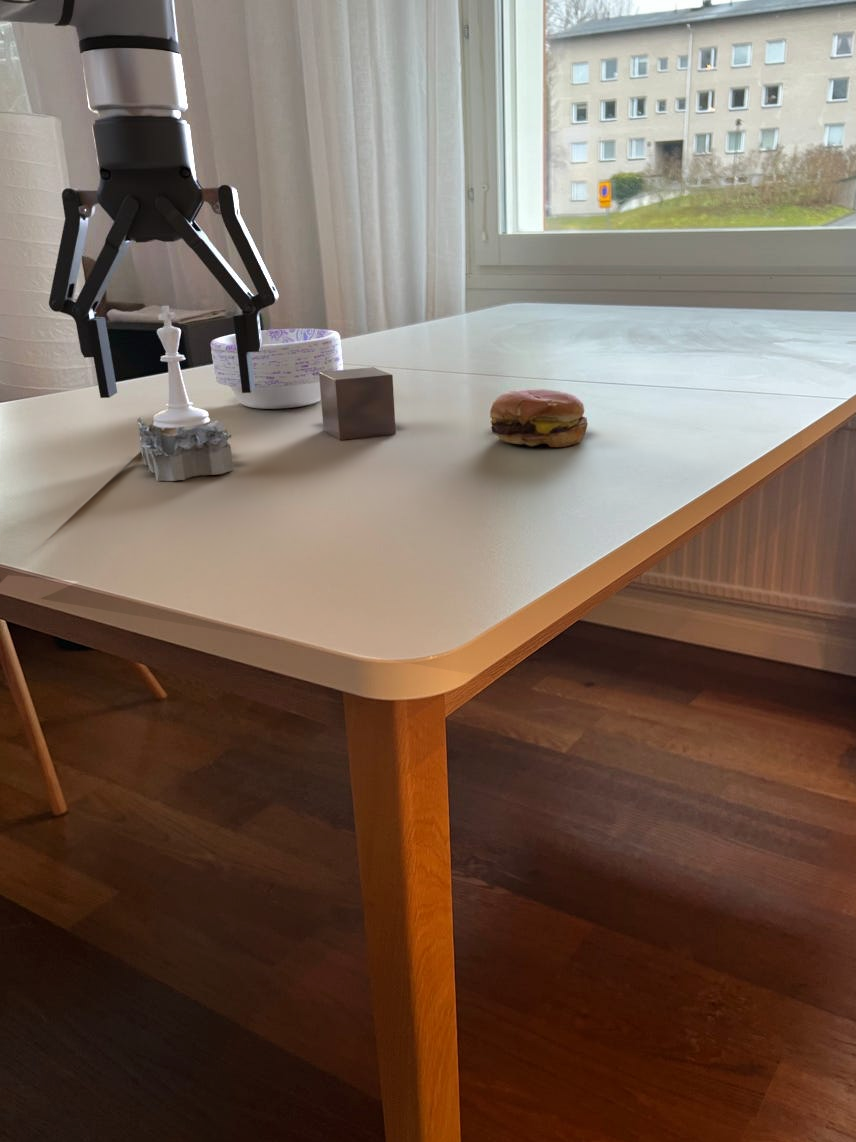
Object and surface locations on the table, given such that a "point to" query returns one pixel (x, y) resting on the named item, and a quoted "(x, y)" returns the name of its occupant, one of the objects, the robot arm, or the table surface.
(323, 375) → the walnut block
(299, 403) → the paper bowls
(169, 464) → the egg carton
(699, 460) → the table surface
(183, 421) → the chess piece
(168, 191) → the robot arm
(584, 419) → the burger
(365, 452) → the table surface
